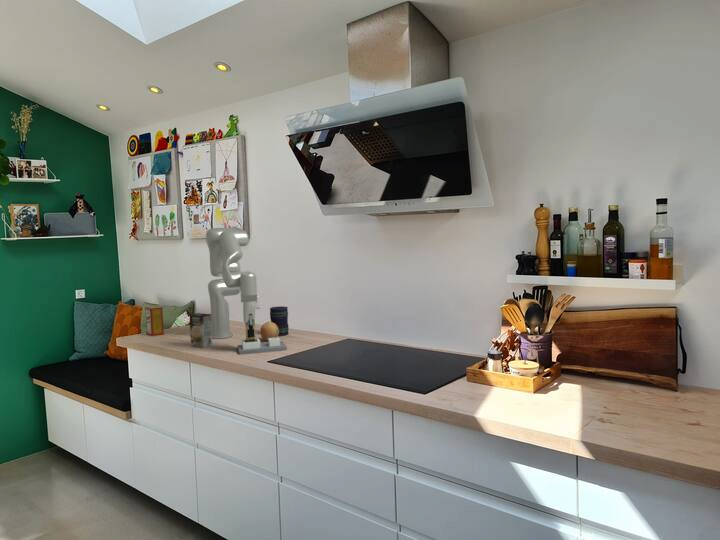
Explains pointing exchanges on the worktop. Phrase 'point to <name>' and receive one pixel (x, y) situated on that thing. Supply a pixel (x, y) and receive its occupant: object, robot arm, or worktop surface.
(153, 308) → the baking soda box
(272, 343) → the manifold plate
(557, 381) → the worktop surface
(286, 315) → the storage jar
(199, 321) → the coffee box
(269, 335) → the onion
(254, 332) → the brass stub
